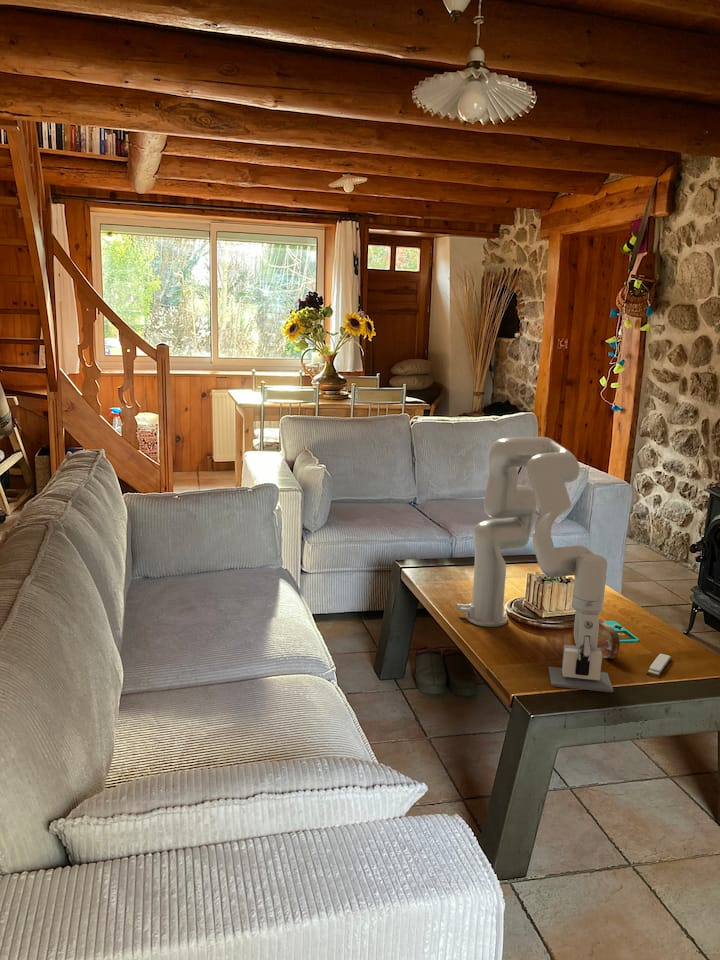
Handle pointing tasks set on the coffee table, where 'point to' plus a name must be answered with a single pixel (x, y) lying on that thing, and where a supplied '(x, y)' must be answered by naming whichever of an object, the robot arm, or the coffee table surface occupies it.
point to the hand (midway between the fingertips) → (580, 670)
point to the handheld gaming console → (621, 629)
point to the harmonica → (659, 665)
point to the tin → (607, 640)
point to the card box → (570, 663)
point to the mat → (580, 681)
